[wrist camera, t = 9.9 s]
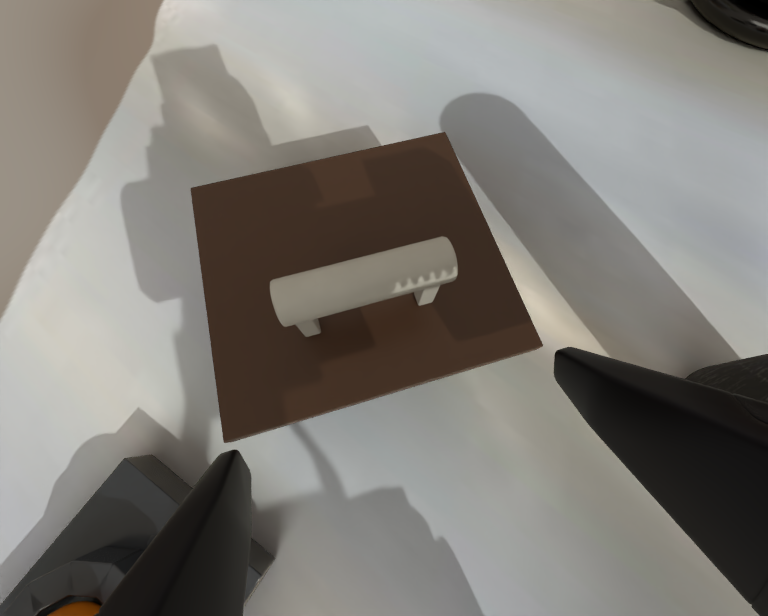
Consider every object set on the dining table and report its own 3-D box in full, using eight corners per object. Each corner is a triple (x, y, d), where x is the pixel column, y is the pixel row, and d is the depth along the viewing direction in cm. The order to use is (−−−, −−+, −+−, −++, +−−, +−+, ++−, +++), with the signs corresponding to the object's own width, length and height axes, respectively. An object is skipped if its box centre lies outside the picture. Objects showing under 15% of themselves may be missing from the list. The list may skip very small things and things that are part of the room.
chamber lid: (536, 349, 15) (608, 315, 10) (230, 442, 13) (152, 451, 9) (442, 141, 19) (464, 48, 14) (197, 196, 17) (130, 112, 13)
